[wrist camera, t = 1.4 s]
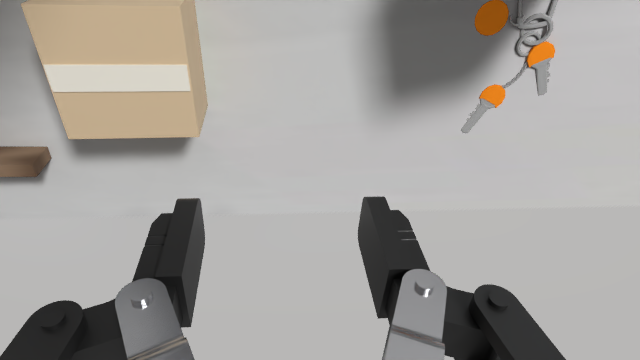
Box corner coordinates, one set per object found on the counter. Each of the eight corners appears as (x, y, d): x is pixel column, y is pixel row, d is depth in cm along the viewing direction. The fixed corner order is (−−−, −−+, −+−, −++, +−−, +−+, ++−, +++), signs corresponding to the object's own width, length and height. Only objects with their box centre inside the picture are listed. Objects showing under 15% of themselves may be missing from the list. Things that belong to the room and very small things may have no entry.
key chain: (473, -36, 27) (478, -34, 27) (580, -48, 28) (589, -47, 27) (453, 132, 35) (457, 137, 34) (538, 122, 35) (543, 126, 34)
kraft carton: (193, -12, 26) (179, 7, 22) (208, 104, 31) (199, 137, 27) (59, -15, 25) (19, 4, 21) (95, 105, 30) (68, 140, 26)
